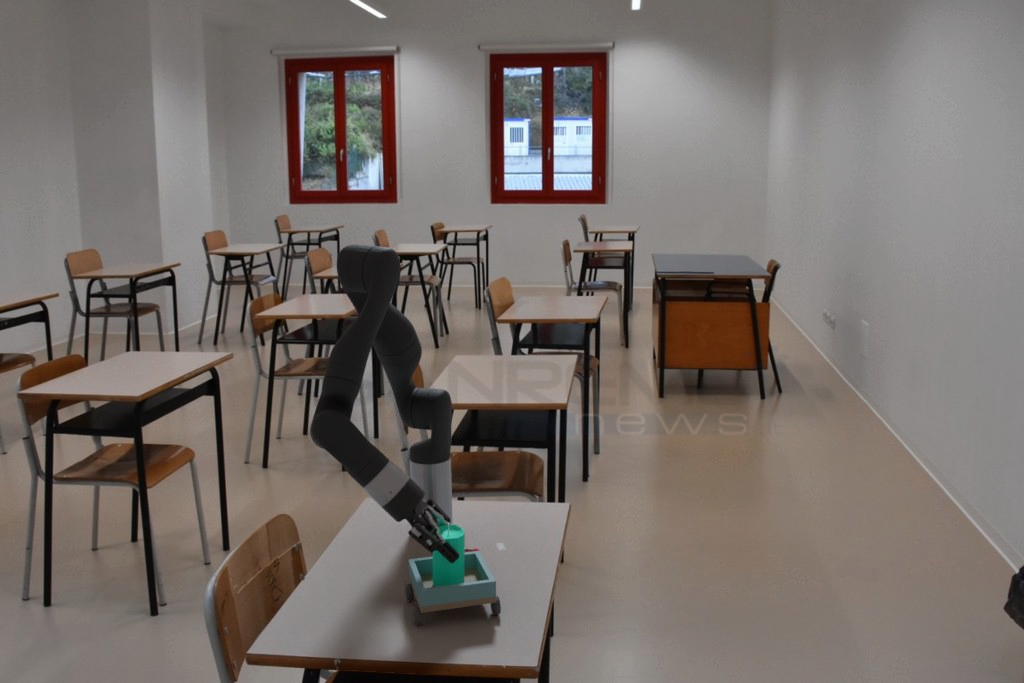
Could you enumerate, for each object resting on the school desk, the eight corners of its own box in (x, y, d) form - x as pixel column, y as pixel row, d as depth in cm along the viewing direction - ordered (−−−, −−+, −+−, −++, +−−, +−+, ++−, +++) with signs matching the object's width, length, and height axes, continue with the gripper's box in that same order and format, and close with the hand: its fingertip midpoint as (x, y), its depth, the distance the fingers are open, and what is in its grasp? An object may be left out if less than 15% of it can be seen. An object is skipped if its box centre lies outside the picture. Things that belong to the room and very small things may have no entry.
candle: (441, 572, 183) (441, 515, 180) (469, 578, 180) (469, 520, 178) (427, 586, 177) (426, 527, 174) (456, 592, 175) (456, 533, 172)
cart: (405, 595, 184) (403, 560, 182) (484, 584, 188) (483, 550, 186) (416, 629, 171) (415, 591, 169) (501, 617, 174) (500, 580, 173)
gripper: (399, 491, 168) (467, 555, 169) (415, 464, 182) (477, 524, 183) (371, 518, 169) (438, 582, 170) (389, 490, 183) (451, 549, 185)
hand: (458, 552), depth 177 cm, fingers open, 6 cm apart
